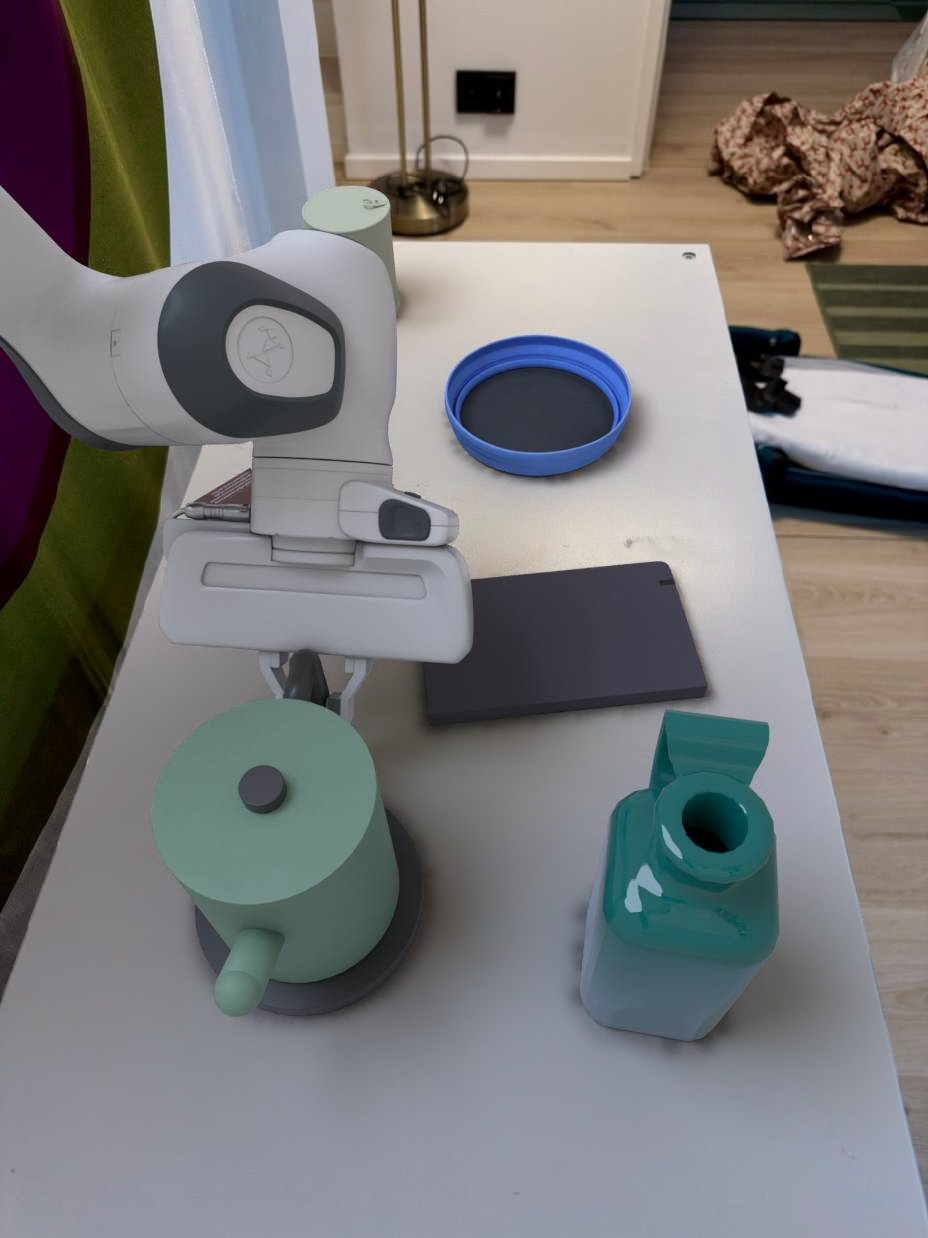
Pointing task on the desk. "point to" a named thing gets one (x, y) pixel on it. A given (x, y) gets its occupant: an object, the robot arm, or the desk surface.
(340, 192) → the can
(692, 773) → the pitcher
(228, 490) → the box
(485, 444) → the bowl
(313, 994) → the kettle base
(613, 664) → the notebook
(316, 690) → the kettle
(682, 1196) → the desk surface
